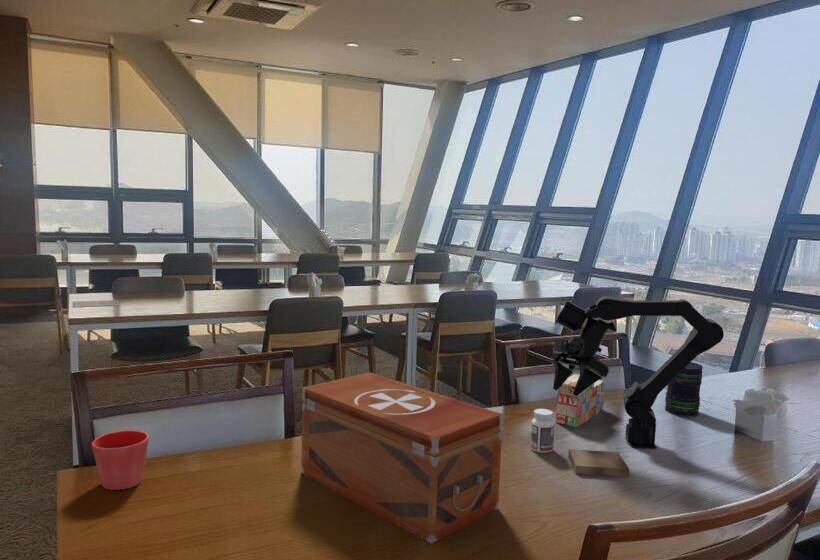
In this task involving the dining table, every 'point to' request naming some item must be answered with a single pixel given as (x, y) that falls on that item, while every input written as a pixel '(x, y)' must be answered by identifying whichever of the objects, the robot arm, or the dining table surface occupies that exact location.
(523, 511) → the dining table surface
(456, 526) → the wooden box
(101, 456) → the flower pot
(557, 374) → the robot arm
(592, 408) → the stack of blocks
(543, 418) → the pill bottle
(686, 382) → the storage jar
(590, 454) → the wooden board
